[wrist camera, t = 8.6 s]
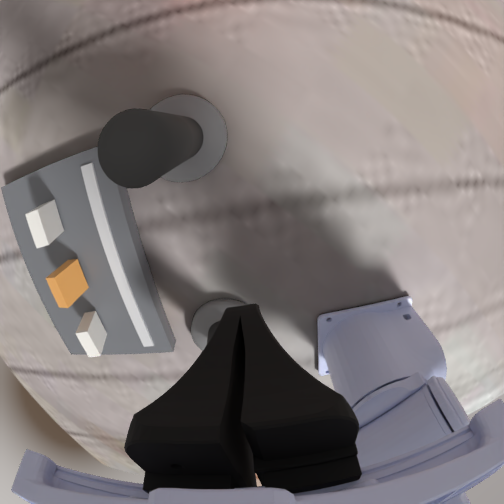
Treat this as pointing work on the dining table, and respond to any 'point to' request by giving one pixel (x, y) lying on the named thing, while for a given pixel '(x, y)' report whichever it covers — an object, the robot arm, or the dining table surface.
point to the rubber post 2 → (209, 319)
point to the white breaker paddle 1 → (44, 223)
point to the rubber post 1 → (163, 142)
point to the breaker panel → (91, 255)
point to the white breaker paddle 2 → (91, 334)
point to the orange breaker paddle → (67, 283)
